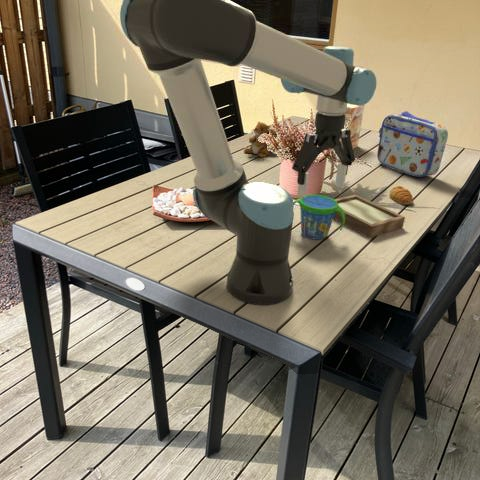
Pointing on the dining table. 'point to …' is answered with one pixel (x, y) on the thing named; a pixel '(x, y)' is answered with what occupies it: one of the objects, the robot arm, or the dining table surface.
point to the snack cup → (318, 215)
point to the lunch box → (411, 144)
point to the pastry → (401, 195)
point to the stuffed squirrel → (256, 145)
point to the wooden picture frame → (368, 216)
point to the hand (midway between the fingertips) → (321, 191)
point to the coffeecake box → (354, 122)
